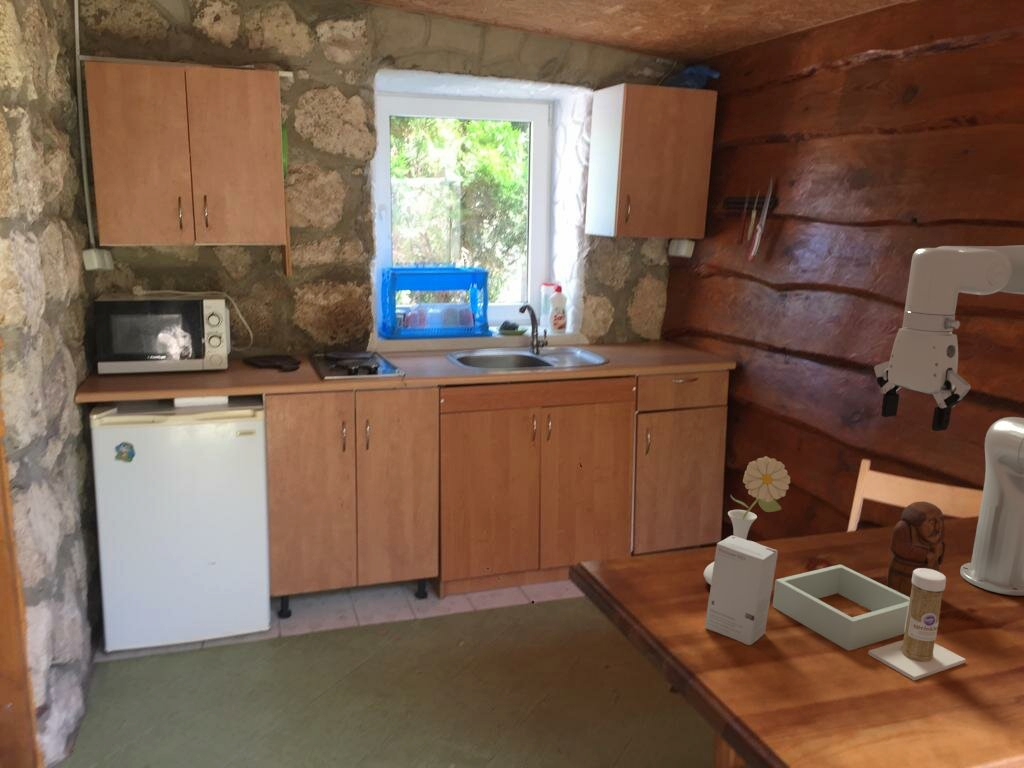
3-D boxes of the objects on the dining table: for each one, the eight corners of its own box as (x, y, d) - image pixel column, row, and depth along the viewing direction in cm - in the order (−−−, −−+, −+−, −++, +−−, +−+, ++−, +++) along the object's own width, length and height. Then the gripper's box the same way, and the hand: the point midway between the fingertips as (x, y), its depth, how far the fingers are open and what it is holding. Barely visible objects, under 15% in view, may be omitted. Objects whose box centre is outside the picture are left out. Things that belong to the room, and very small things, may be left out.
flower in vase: (697, 592, 147) (710, 457, 142) (708, 568, 158) (720, 441, 152) (774, 608, 143) (790, 469, 137) (779, 582, 153) (795, 452, 148)
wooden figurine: (914, 614, 142) (930, 515, 139) (878, 600, 147) (892, 504, 143) (944, 596, 150) (960, 502, 146) (909, 583, 155) (923, 491, 151)
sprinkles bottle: (914, 663, 125) (927, 580, 123) (894, 647, 130) (906, 567, 127) (940, 660, 127) (953, 578, 124) (919, 645, 131) (932, 566, 128)
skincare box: (704, 629, 134) (712, 542, 131) (721, 616, 139) (729, 532, 136) (753, 647, 129) (762, 558, 126) (769, 634, 134) (779, 547, 131)
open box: (836, 590, 151) (840, 564, 150) (915, 630, 137) (919, 602, 136) (772, 606, 143) (775, 579, 142) (848, 650, 129) (852, 621, 128)
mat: (918, 638, 134) (919, 635, 134) (965, 662, 128) (965, 659, 127) (868, 654, 129) (868, 650, 129) (914, 680, 122) (914, 676, 122)
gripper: (991, 330, 133) (975, 433, 136) (897, 315, 147) (884, 409, 151) (962, 331, 129) (946, 438, 133) (868, 317, 144) (856, 412, 147)
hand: (913, 422), depth 142 cm, fingers open, 9 cm apart
